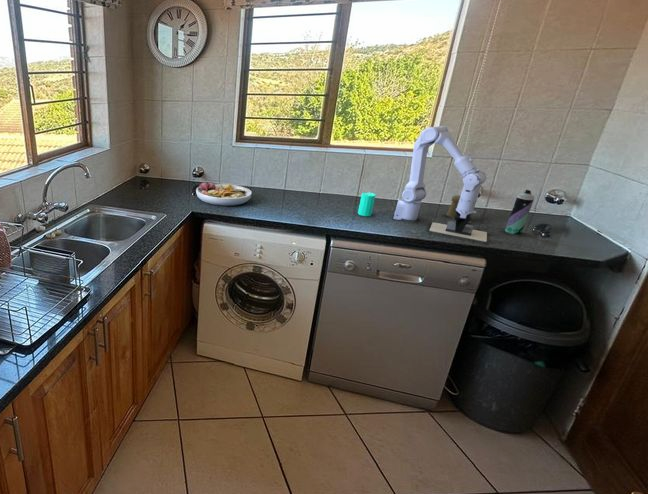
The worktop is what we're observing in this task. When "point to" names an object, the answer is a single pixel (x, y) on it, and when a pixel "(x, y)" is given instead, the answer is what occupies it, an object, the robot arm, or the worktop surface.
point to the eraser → (466, 230)
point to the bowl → (223, 194)
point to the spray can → (520, 212)
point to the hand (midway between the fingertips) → (458, 229)
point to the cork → (453, 206)
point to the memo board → (475, 234)
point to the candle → (366, 204)
